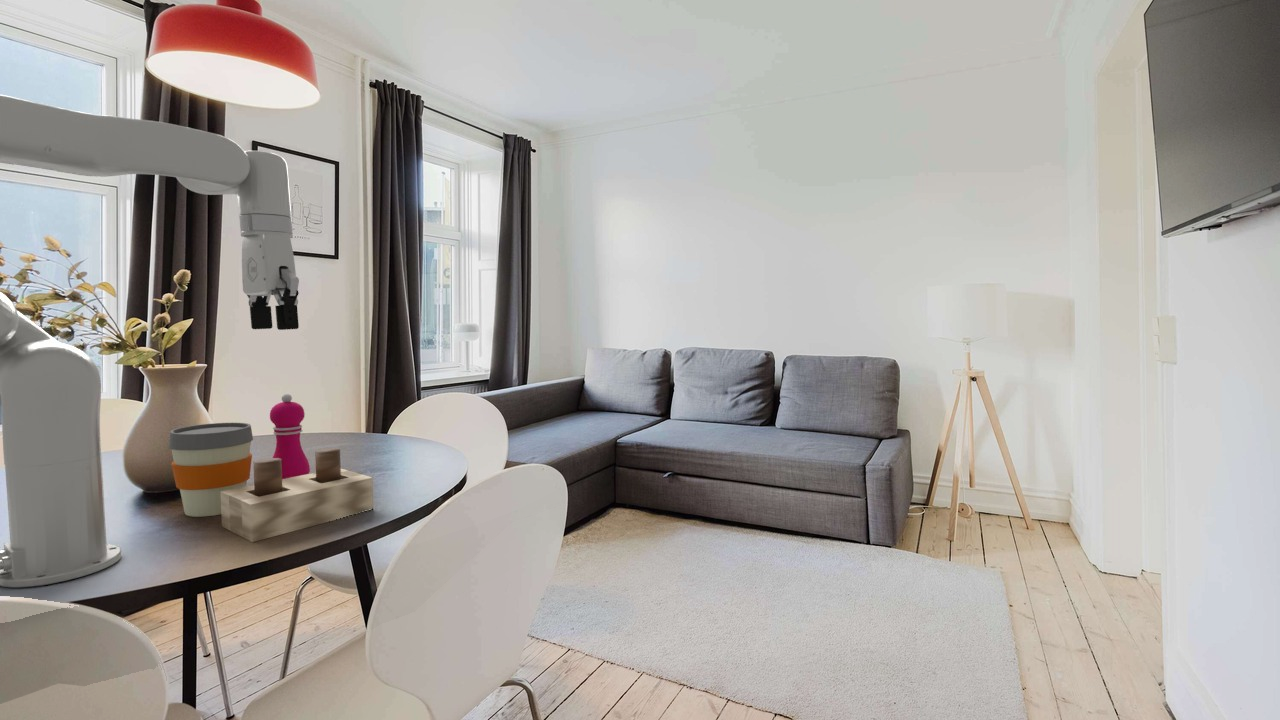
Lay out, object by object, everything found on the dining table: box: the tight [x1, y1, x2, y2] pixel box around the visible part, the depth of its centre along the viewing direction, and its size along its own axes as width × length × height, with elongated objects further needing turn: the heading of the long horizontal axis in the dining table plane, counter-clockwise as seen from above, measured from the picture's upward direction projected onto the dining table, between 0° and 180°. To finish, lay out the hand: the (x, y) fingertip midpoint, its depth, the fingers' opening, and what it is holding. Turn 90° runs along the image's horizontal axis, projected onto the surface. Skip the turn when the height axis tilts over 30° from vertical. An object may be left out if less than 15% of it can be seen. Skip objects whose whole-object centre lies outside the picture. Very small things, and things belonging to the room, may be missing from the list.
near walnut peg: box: [252, 457, 283, 497], centre depth 100 cm, size 4×4×6 cm
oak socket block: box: [220, 468, 374, 543], centre depth 105 cm, size 20×12×6 cm, turn 144°
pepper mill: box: [269, 393, 311, 479], centre depth 120 cm, size 7×7×20 cm
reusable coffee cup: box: [168, 422, 254, 518], centre depth 109 cm, size 13×13×15 cm
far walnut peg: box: [314, 447, 342, 483], centre depth 108 cm, size 4×4×6 cm
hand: (274, 329), depth 103 cm, fingers open, 9 cm apart
